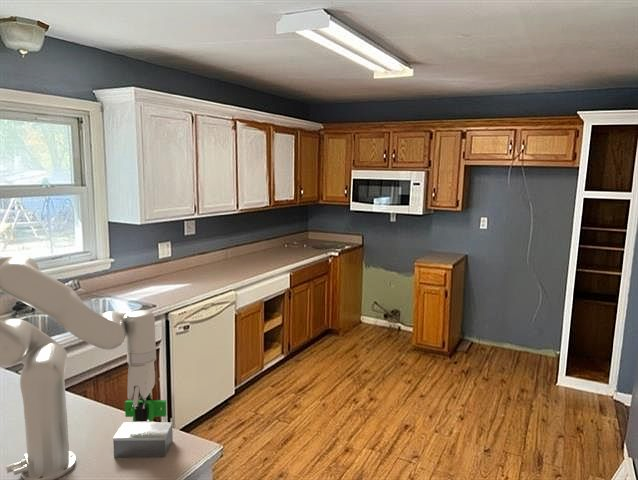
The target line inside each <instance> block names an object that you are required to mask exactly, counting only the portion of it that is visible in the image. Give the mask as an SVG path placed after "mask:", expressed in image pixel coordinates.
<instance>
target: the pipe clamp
mask: <svg viewBox="0 0 638 480" xmlns="http://www.w3.org/2000/svg"><path fill="white" fill-rule="evenodd" d="M139 402H142V403H143V400H139ZM146 407H147V416H148V422H153V421H154V419H155V418H157V417H158V418H159V417H160V418H162V417H163V418H164V417H166V416H167V400H166V399H157V400H156V399H152V400H146ZM124 413H125V415H124V416H125V418H132V422H137V421H135V408H134V406H133V399H131V400H129V399H126V400H125V401H124Z"/></svg>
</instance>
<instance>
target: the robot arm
mask: <svg viewBox="0 0 638 480" xmlns="http://www.w3.org/2000/svg"><path fill="white" fill-rule="evenodd" d="M75 291H76V290H74V289H73V288H72V287H70V286H69V285H68V284H65V283H63V282H62V281H60V280H57V279H56V278H54V277H52V276H50V275H48V274H47V273H45V272H44V271H41V270H40V269H39V266H38V263H37V262H36V261H35V260H34V259H33V258H31V257H29V256H26V255H9V256H2V257H0V292H1V293H3V294H5V295H7V296H9V297H11V298H13V299H14V300H17V301H18V302H21V303H23V304H25V305H27V306H29V307H31V308H33V309H35V310H37V311H39V312H40V313H43V314H44V315H46V316H48V317H49V318H51V319H52V320H53V321H54V322H55V323H57V324H58V325H60V326H61V327H62V328H63V329H65V330H66V331H67V332H68V333H70V334H72V335H73V336H75V337H76V338H78V339H79V340H82V341H84V342H85V343H87V344H89V345H91V346H94V347H95V348H99V349H101V350H105V351H106V350H108V351H110V350H111V351H112V350H114V349H116V348H117V349H118V348H119V347H120V346H121V345H122V344H123V343H124V341H125V340H126V361H127V364H128V370H127V371H128V372H127V400H133V406H134V408H135V421H136V422H148V421H149V419H148V416H147V407H146V400H153V391H152V390H153V388H154V387H155V385H156V371H155V370H156V369H155V368H156V367H155V361H156V360H157V350H156V349H157V346H156V323H155V321H156V318H155V314H154V312H153V311H151V310H148V309H147V310H146V309H140V310H134V311H118V310H115V311H114V310H113V311H109V310H108V311H105V312H103V313H101V314H99V313H98V312H96V311H95V310H93V309H92V308H90V307H89V306H87V305H86V304H85V303H84V302H83V301H82V300H81V298H80V297H79V295H78V293H76V292H75ZM19 363H21V364H23V368H22V370H21V373H20V376H19V377H20V379H19V380H20V381H19V385H20V393H21V397H22V403H23V406H22V407H23V417H24V426H25V440H26V442H25V443H26V453H24V455H23V456H24V458H22V459H20V460H19V461H17V462H13V463H11V464H10V463H9V464H7V465H5V469H6V470H5V471H6V474H9V473H12V472H13V476H16V475H19V474H20V475H21V478H22V479H23V480H56V479H58V478H61V477H63V476H65V475H66V474H67V473H69V472H70V471H71V470H73V469H74V467H75V465H76V462H77V457H76V455H75V452H74V453H73V451H70V445H69V430H68V429H69V427H68V426H69V425H68V408H67V397H66V386H65V385H66V384H65V376H66V375H65V374H66V369H67V364H68V354H67V351H66V349H65V348H64V347H63V346H62V345H61V344H60V343H59V342H57V341H56V340H55V339H54V338H52V337H51V336H49V335H47V334H46V332H43V331H42V330H41V329H39V328H38V327H37V326H36V325H34V324H32V323H31V322H29V321H27V320H24V319H21V318H9V319H6V320H1V319H0V367H3V368H4V367H5V368H9V367H13V366H15V365H17V364H19ZM139 400H143V403H142V402H139Z"/></svg>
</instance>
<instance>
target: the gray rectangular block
mask: <svg viewBox="0 0 638 480" xmlns="http://www.w3.org/2000/svg"><path fill="white" fill-rule="evenodd" d="M173 433H174V432H173V422H172V421H170V422H168V421H160V422H159V421H154V422H153V421H152V422H149V421H138V422H137V421H136V422H133V421H132V422H131V421H129V422H128V421H124V422H123V423H122V424H121V425H120V427H119V428H118V430H117V432H116V433H115V434H114V436H113V439H112V440H113V443H112V444H113V458H114V459H118V458H119V459H122V458H123V459H125V458H126V459H128V458H129V459H131V458H132V459H133V458H134V459H135V458H137V459H139V458H140V459H141V458H144V459H146V458H147V459H148V458H151V459H152V458H154V459H155V458H159V459H161V458H163V459H165V458H166V457H167V455H168V452H169V450H170V448H171V445H172V443H173V442H174V441H173V437H174V435H173Z"/></svg>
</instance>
